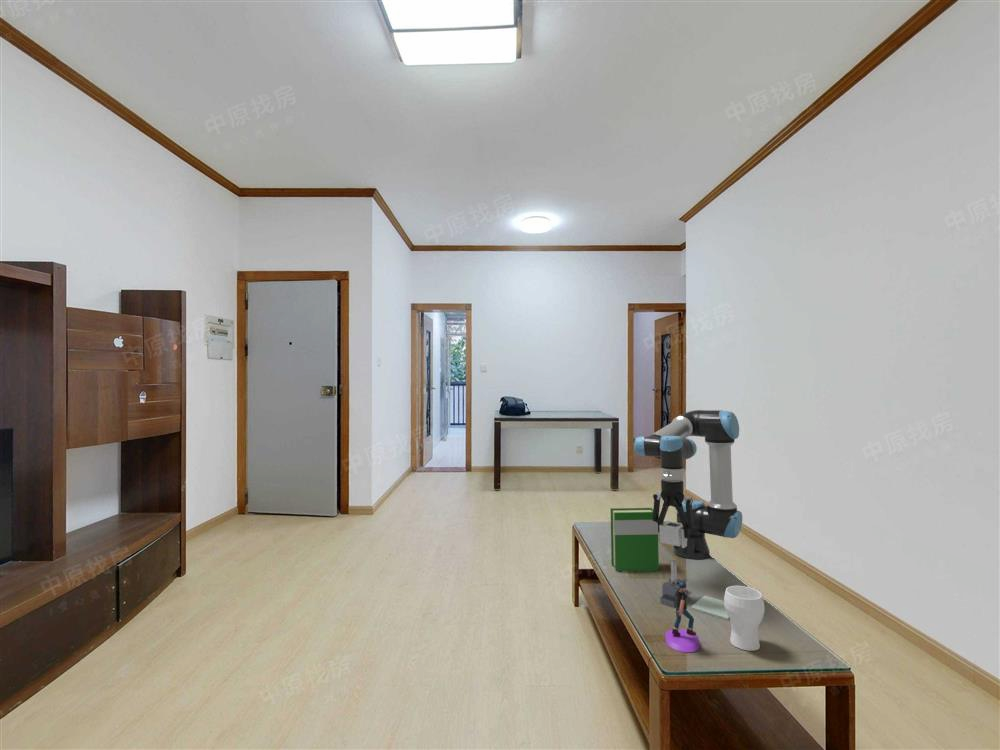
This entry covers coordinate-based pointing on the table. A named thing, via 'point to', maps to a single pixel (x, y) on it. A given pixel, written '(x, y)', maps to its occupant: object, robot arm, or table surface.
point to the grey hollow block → (671, 533)
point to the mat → (711, 607)
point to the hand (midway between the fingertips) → (673, 544)
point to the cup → (744, 616)
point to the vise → (671, 587)
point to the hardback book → (634, 539)
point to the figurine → (679, 637)
